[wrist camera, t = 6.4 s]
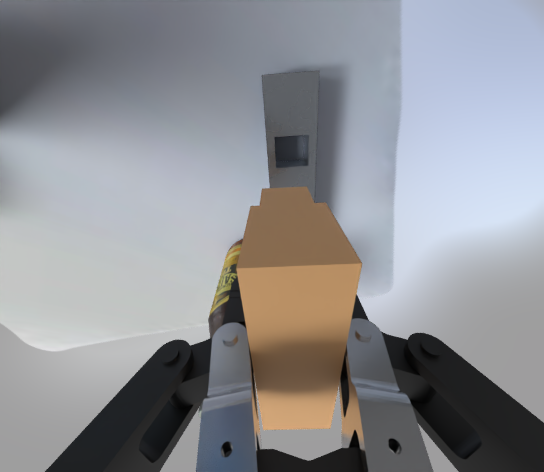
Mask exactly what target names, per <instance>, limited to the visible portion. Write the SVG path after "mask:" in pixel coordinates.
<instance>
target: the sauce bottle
mask: <svg viewBox="0 0 544 472" xmlns="http://www.w3.org/2000/svg"><path fill="white" fill-rule="evenodd" d="M242 242H243V239H242V240H240V241H238V242H236V243H235V244H233V245H232V246H231V248H230V249H229V252H228V253H227V255H226V259H225V262H224V266H223V269H222V273H221V276H220V280H219V283H218V287H217V290H216V294H215V297H214V301H213V305H212V308H211V311H210V315H209V319H208V322H209V331H210V338H211V337H213V335H214V333H215V332H216V331H217V330H218V329H219V328H220V327H221V326H222V323H223V319H224V315H225V310H226V306H227V302H228V299H229V293H230V289H231V285H232V282H233V281H234V280H235V278H236V277H237V270H236V268H237V263H238V259H239V255H240V250H241V246H242ZM203 401H204V400H203ZM203 401H202V403H201V405H200V408H199V417H200V418H201V413H202V405H203Z"/></svg>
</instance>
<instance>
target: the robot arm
mask: <svg viewBox="0 0 544 472" xmlns="http://www.w3.org/2000/svg"><path fill="white" fill-rule="evenodd" d="M339 392H340V403H341V415H342V448H341V449H338V450H336V451H334V452H331V453H329V454H326V455H324V456H321V457H319V458H316V459H314V460H311V461H307V460H303V459H300V458H298V457H294V456H292V455H289V454H286V453H283V452H280V451H277V450H274V449H262V445H261V436H260V428H259V419H258V409H257V398H256V388H255V377H254V370H253V365H252V359H251V353H250V347H249V341H248V335H247V329H246V323H245V317H244V311H243V305H242V299H241V293H240V287H239V282H238V276H237V277H236V278H235V280H234V281H233V282H232V285H231V289H230V293H229V299H228V302H227V306H226V310H225V315H224V319H223V323H222V326H221V327H220V328H219V329H218V330H217V331H216V332H215V333H214V335H213V337H211V338H210V339H208V340H206V341H203V342H200V343H197V344H194V345H191V346H190V345H189V344H188V343H187V342H186V341H184V340H173V341H171V342H168V343H166V344H164V345H163V346H162V347H161V348H160V349H158V350H157V352H156V353H155V354H154V355H153V356H152V357H151V358H150V359H149V360H148V361H147V362H146V363H145V364H144V365H143V367H142V368H141V369H140V370H139V371H138V372H137V373H136V374H135V375H134V376H133V377H132V378H131V379H130V381H129V382H128V383H127V384H126V385H125V386H124V387H123V388H122V389H121V390H120V391H119V393H118V394H117V395H116V396H115V397H114V398H113V399H112V400H111V401H110V402H109V403H108V404H107V405H106V406H105V408H104V409H103V410H102V411H101V412H100V413H99V414H98V415H97V416H96V417H95V418H94V419H93V421H92V422H91V423H90V424H89V425H88V426H87V427H86V428H85V429H84V430H83V431H82V432H81V434H80V435H79V436H78V437H77V438H76V439H75V440H74V441H73V442H72V443H71V444H70V445H69V446H68V447H67V449H66V450H65V451H64V452H63V453H62V454H61V455H60V456H59V457H58V459H56V460H55V462H54V463H53V464H52V465H51V466H50V467H49V468H48V469H47V470H46V471H45V472H160V470H161V468H162V467H163V465H164V463H165V462H166V460H167V459H168V457H169V455H170V454H171V452H172V450H173V449H174V447H175V446H176V444H177V442H178V441H179V439H180V437H181V436H182V434H183V432H184V431H185V429H186V428H187V426H188V424H189V423H190V421H191V419H192V418H193V416H194V415H195V413H196V411H197V410H198V408H199V406H200V405H201V403H202V401H203V400H204V401H203V405H202V413H201V423H200V434H199V444H198V455H197V466H196V472H433V469H432V466H431V463H430V460H429V456H428V453H427V450H426V447H425V444H424V441H423V438H422V435H421V432H420V429H419V426H418V424H419V425H420V426H421V427H422V428H423V430H424V431H425V432H426V433H427V434H428V436H429V437H430V438H431V439H432V440H433V442H434V443H435V444H436V445H437V446H438V447H439V449H440V450H441V451H442V452H443V453H444V455H445V456H446V457H447V458H448V459H449V460H450V462H451V463H452V464H453V465H454V467H455V468H456V469H457V470H458V471H459V472H544V423H543V422H542V421H541V420H540V419H538V418H537V417H536V416H534V415H533V414H532V413H531V412H530V411H528V410H527V409H526V408H525V407H523V406H522V405H521V404H520V403H518V402H517V401H516V400H515V399H513V398H512V397H511V396H510V395H508V394H507V393H506V392H504V391H503V390H502V389H501V388H499V387H498V386H497V385H496V384H494V383H493V382H492V381H491V380H489V379H488V378H487V377H486V376H484V375H483V374H482V373H480V372H479V371H478V370H477V369H476V368H474V367H473V366H472V365H471V364H469V363H468V362H467V361H466V360H464V359H463V358H462V357H461V356H459V355H458V354H457V353H456V352H454V351H453V350H452V349H451V348H449V347H448V346H447V345H446V344H444V343H443V342H442V341H440V340H439V339H437V338H436V337H433V336H431V335H429V334H425V333H415V334H412V335H411V336H410V337H409V338H408V340H406V339H403V338H399V337H394V336H391V335H387V334H385V333H383V332H381V331H380V330H379V328H378V327H377V326H376V325H375V324H373V323H372V322H370V321H369V320H368V318H367V316H366V314H365V311H364V309H363V307H362V305H361V303H360V301H359V298H358V296H357V294H356V298H355V303H354V308H353V313H352V319H351V324H350V329H349V334H348V339H347V345H346V350H345V355H344V360H343V365H342V371H341V376H340V381H339ZM417 422H418V423H417Z"/></svg>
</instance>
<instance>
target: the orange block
mask: <svg viewBox="0 0 544 472" xmlns="http://www.w3.org/2000/svg"><path fill="white" fill-rule="evenodd" d="M361 267H362V262H361V261H360V259H359V257H358V256H357V254H356V252H355V251H354V249H353V247H352V246H351V244H350V242H349V241H348V239H347V237H346V236H345V234H344V232H343V231H342V229H341V227H340V225H339V224H338V222H337V220H336V219H335V217H334V215H333V214H332V212H331V210H330V209H329V207H328V205H327V204H326V203H314V201H313V199H312V196H311V194H310V192H309V190H308V188H307V186H306V187H286V188H266V189H262V192H261V200H260V206H251V207H250V211H249V216H248V220H247V224H246V229H245V233H244V237H243V242H242V246H241V250H240V255H239V259H238V263H237V268H236V270H237V276H238V282H239V287H240V293H241V299H242V305H243V311H244V317H245V323H246V329H247V335H248V341H249V347H250V353H251V359H252V365H253V370H254V376H255V382H256V388H257V394H258V400H259V406H260V412H261V418H262V424H263V430H280V429H281V430H283V429H330V427H331V422H332V417H333V412H334V407H335V402H336V396H337V391H338V386H339V381H340V376H341V371H342V365H343V360H344V355H345V350H346V345H347V339H348V334H349V329H350V324H351V319H352V313H353V308H354V303H355V298H356V293H357V288H358V282H359V277H360V272H361Z"/></svg>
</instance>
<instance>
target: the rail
mask: <svg viewBox="0 0 544 472" xmlns="http://www.w3.org/2000/svg"><path fill="white" fill-rule="evenodd" d="M262 84H263V98H264V112H265V126H266V140H267V154H268V168H269V182H270V188H286V187H306V186H307V188H308V190H309V192H310V194H311V196H312V199H313V201H314V202H315V175H316V147H317V120H318V93H319V71H308V72H295V73H283V74H270V75H262ZM297 135H304V147H303V159H301V160H287V161H276V158H275V139H274V137H283V136H297Z"/></svg>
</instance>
